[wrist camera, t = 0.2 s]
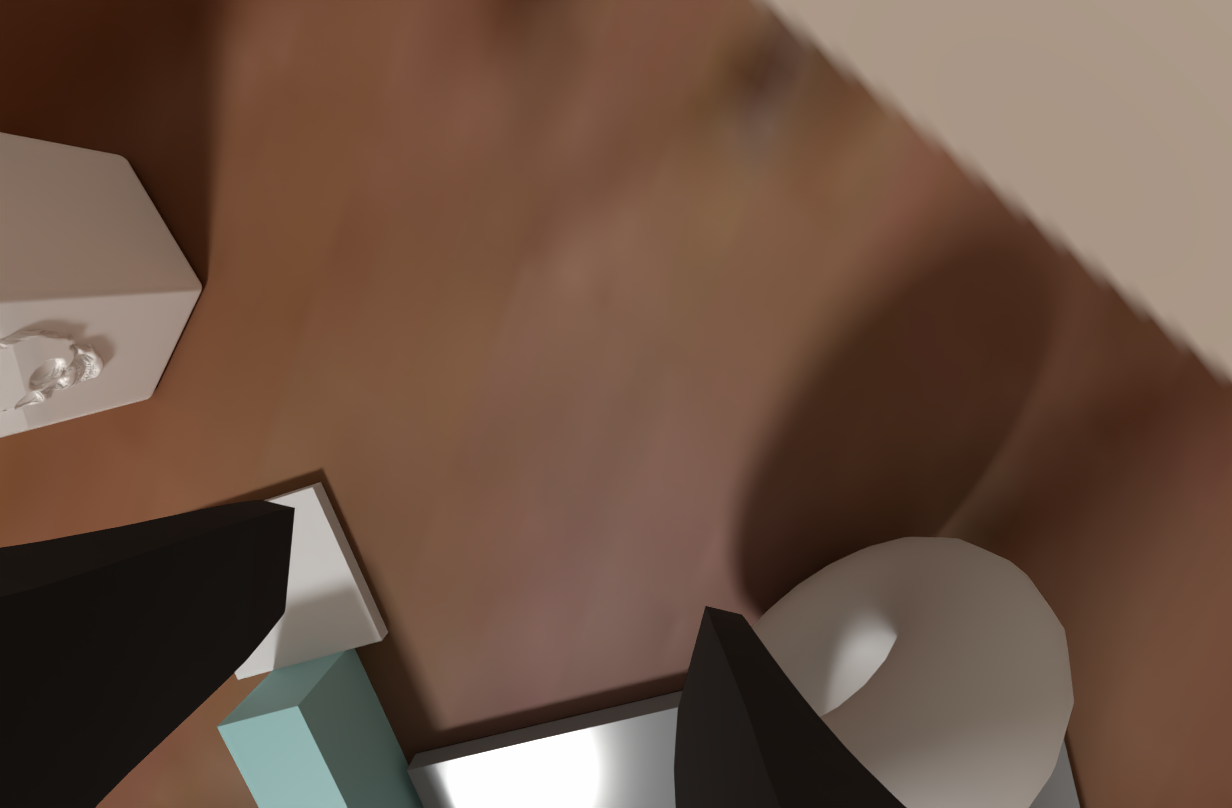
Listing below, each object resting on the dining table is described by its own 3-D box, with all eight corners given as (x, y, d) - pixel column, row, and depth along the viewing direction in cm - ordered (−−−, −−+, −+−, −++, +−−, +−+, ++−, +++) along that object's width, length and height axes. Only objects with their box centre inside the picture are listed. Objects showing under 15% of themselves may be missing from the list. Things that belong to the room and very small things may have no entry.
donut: (913, 471, 20) (1108, 617, 10) (986, 553, 20) (1252, 781, 10) (674, 652, 22) (642, 921, 12) (740, 727, 22) (762, 1059, 12)
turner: (488, 852, 25) (458, 946, 21) (353, 880, 26) (305, 974, 22) (322, 481, 22) (257, 521, 19) (177, 527, 23) (90, 574, 19)
